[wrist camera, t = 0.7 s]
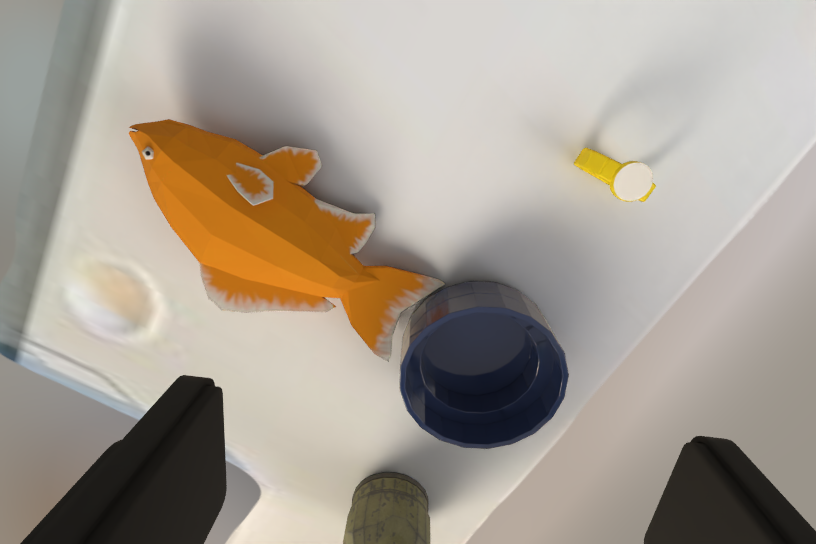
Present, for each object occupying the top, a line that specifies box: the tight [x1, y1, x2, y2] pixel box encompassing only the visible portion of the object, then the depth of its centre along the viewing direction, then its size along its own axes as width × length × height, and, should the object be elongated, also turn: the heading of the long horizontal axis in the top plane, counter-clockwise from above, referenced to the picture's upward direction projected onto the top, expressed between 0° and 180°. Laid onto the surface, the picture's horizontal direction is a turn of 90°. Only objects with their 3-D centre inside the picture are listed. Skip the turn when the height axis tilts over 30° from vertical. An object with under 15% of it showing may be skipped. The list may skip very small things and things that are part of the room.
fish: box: [129, 119, 445, 362], centre depth 36 cm, size 7×27×15 cm
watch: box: [574, 148, 656, 202], centre depth 34 cm, size 6×3×6 cm, turn 63°
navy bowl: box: [399, 281, 569, 449], centre depth 40 cm, size 14×14×6 cm
